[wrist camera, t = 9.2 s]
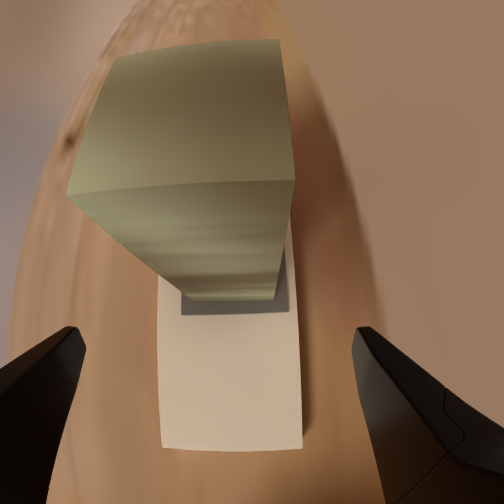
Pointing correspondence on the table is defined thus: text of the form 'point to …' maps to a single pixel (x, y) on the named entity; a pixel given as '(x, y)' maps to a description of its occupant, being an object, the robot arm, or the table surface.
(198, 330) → the baseplate
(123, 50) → the table surface
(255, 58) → the post
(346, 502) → the table surface
